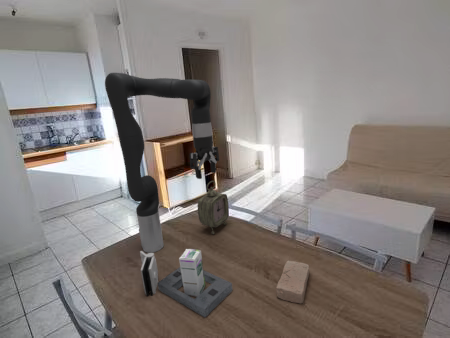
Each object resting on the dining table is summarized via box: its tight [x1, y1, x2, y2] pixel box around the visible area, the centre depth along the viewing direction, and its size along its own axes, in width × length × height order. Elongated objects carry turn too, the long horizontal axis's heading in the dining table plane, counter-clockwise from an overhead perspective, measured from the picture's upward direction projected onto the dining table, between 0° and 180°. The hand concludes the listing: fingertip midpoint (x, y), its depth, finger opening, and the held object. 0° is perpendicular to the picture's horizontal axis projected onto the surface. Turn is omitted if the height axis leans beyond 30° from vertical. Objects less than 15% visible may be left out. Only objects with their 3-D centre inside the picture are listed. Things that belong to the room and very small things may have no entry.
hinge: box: [139, 250, 159, 297], centre depth 98 cm, size 14×5×10 cm, turn 18°
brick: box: [275, 260, 310, 304], centre depth 92 cm, size 17×8×5 cm, turn 156°
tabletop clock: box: [197, 180, 230, 235], centre depth 133 cm, size 14×9×25 cm, turn 147°
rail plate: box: [157, 266, 233, 318], centre depth 93 cm, size 22×14×3 cm, turn 52°
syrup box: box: [178, 248, 206, 297], centre depth 92 cm, size 6×6×14 cm
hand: (206, 175), depth 107 cm, fingers open, 8 cm apart
